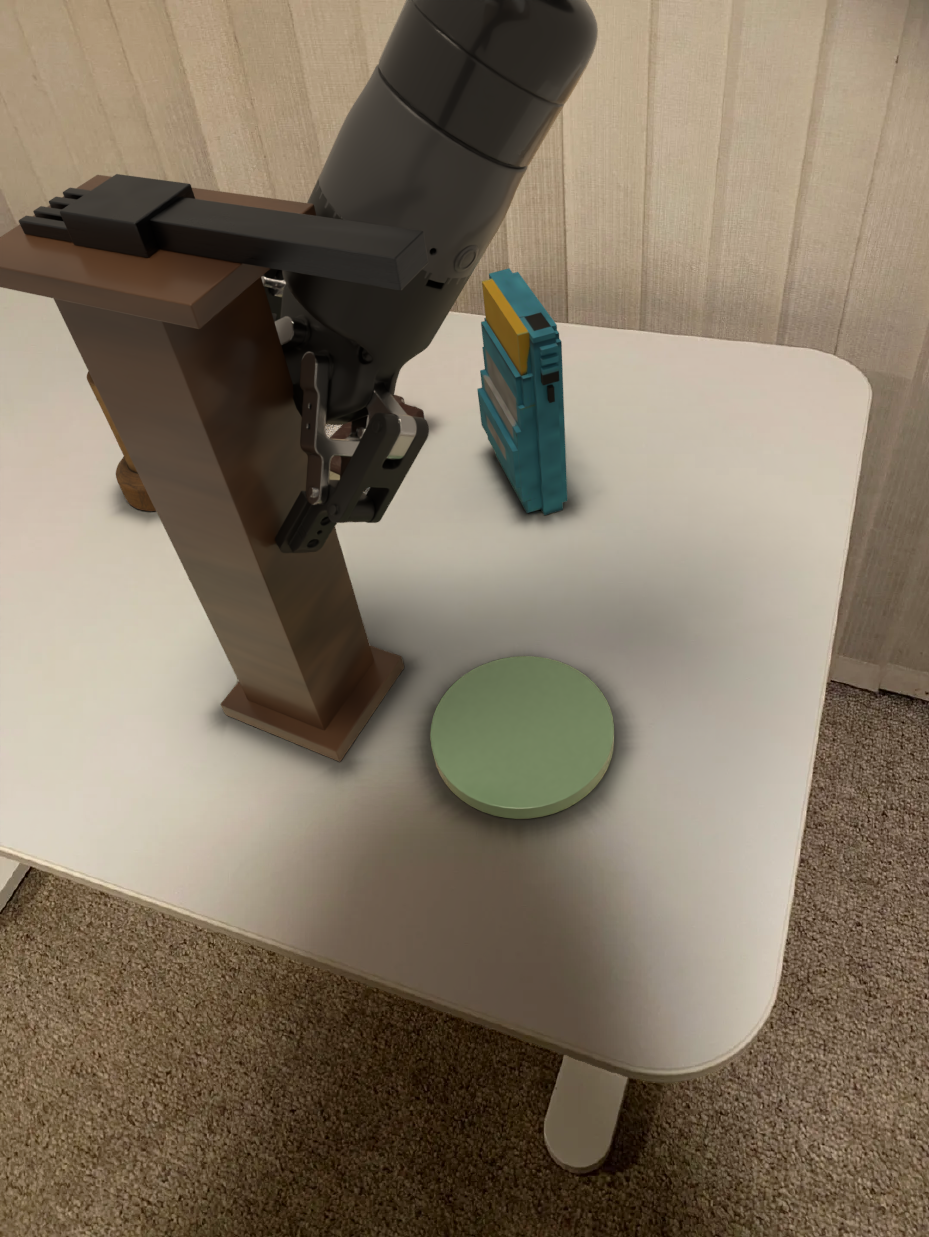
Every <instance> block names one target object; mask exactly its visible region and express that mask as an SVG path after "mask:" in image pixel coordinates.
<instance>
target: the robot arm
mask: <svg viewBox="0 0 929 1237" xmlns="http://www.w3.org/2000/svg"><path fill="white" fill-rule="evenodd" d="M598 28H599V27H598V22H597V19H596V16H595V13H594V11H593V9H592V8H591V6H590V4H589V3H588V1H587V0H405V2H404V4H403V6H402V8H401V11H400V13H399V15H398V17H397V20H396V22H395V24H394V26H393V28H392V31H391V32H390V35H389V37H388V38H387V42H386V43H385V46H384V48H383V50H382V52H381V55H380V57H379V59H378V64H376V65H375V67H374V68H373V69H374V70H373V71H372V73H371V75H370V77H369V79H368V81H367V82H366V84H365V85H364V87H363V89H362V90H361V92H360V93H359V94H358V97H357V98H356V100H355V101H354V103H353V104H352V106H351V108H350V110H349V111H348V113H347V114H346V117H345V118H344V121H343V123H342V125H341V127H340V129H339V131H338V133H337V135H336V138H335V140H334V143H333V145H332V147H331V149H330V151H329V154H328V155H327V158H326V160H325V163H324V164H323V167H322V168H321V172H320V173H319V176H318V178H317V180H316V182H315V185H314V187H313V189H312V192H311V193H310V196H309V198H308V199H307V202H306V203H310V204H314V207H315V211H316V216H320V217H327V218H334V219H341V220H349V221H356V222H363V223H370V224H377V225H384V226H391V227H398V228H405V229H412V230H419V231H423V232H424V237H425V244H426V251H427V258H428V264H427V265H426V266H425V267H424V268H423V269H422V270H421V271H420V272H419V273H418V274H417V275H416V276H415V277H414V278H413V279H412V280H411V281H410V282H409V283H408V284H407V285H406V286H405V287H404V288H403V289H402V290H394V289H388V288H382V287H376V286H370V285H365V284H359V283H353V282H347V281H341V280H336V279H330V278H324V277H318V276H312V275H306V274H301V273H295V272H289V271H283V270H277V269H270V270H268V271H267V272H266V273H265V274H264V275H263V276H261V278H262V282H263V285H264V288H265V292H266V295H267V299H268V302H269V305H270V309H271V312H272V315H273V319H274V322H275V326H276V329H277V332H278V336H279V339H280V343H281V346H282V349H283V353H284V356H285V359H286V363H287V366H288V370H289V373H290V376H291V380H292V383H293V393H294V395H293V400H294V403H295V406H296V409H297V410H298V412H299V414H300V415H301V417H302V422H301V437H300V446H301V449H302V450H303V451H304V452H305V453H306V454H307V456H308V465H307V479H306V491H301V492H300V494H299V496H298V498H297V499H296V501H295V503H294V505H293V507H292V508H291V510H290V512H289V514H288V516H287V517H286V519H285V521H284V523H283V524H282V526H281V528H280V530H279V532H278V533H277V535H276V537H275V542H276V543H277V545H278V547H279V549H280V551H281V552H282V553H308V552H317V551H318V550H320V549H321V548H322V547H323V545H324V544H325V542H326V540H327V539H328V537H329V534H331V532H332V530H333V529H334V527H335V528H336V525H337V524H344V523H366V524H377V523H380V522H381V520H382V519H383V517H384V515H385V514H386V511H387V510H388V508H389V507H390V505H391V503H392V501H393V499H394V498H395V496H396V494H397V492H398V491H399V489H400V487H401V485H402V484H403V482H404V480H405V479H406V476H407V475H408V474H409V471H410V469H411V468H412V466H413V465H414V462H415V460H416V459H417V457H418V455H419V454H420V452H421V450H422V448H423V446H424V445H425V443H426V442H427V440H428V437H429V434H430V427H429V423H428V421H427V420H426V419H424V418H425V417H424V418H422V417H413V416H409V415H407V414H406V413H405V411H404V410H403V409H402V407H401V406H400V405H399V404H398V402H397V401H396V400H395V399H394V397H393V396H394V395H395V392H396V388H397V387H396V386H397V381H398V378H399V374H400V373H401V370H402V368H403V367H404V366H405V365H406V364H407V363H408V362H409V361H411V360H412V359H414V358H415V357H416V356H418V355H420V354H421V353H422V352H424V351H425V350H426V349H428V347H429V346H430V345H431V344H432V342H433V340H434V339H435V337H436V335H437V334H438V332H439V330H440V328H441V327H442V325H443V323H444V322H445V320H446V318H447V316H448V315H449V313H450V311H451V310H452V308H453V307H454V305H455V303H456V301H457V300H458V298H459V296H461V295H460V294H462V291H463V290H464V288H465V286H466V285H467V283H468V282H469V279H471V275H472V274H473V273H474V271H475V270H476V267H477V266H478V265H479V263H480V260H481V259H482V257H483V256H484V254H485V252H486V251H487V249H488V247H489V246H490V244H491V243H492V241H493V240H494V237H495V236H496V234H497V232H498V230H499V229H500V227H501V225H502V223H503V222H504V220H505V218H506V216H507V214H508V211H509V210H510V207H511V205H512V203H513V200H514V198H515V195H516V192H517V190H518V188H519V186H520V184H521V182H522V180H523V177H524V175H525V174H526V172H527V170H528V167H529V166H530V164H531V162H532V161H533V159H534V158H535V156H536V154H537V153H538V150H539V149H540V148H541V145H543V142H544V140H545V138H546V137H547V136H548V134H549V132H550V130H551V128H552V127H553V125H554V123H555V122H556V120H557V118H558V117H559V115H560V113H561V111H562V110H563V108H564V106H565V104H566V103H567V102H568V100H569V99H570V97H571V95H572V94H573V92H574V90H575V89H576V87H577V86H578V83H579V81H580V80H581V78H582V76H583V75H584V73H585V71H586V69H587V67H588V65H589V63H590V61H591V58H592V56H593V54H594V52H595V49H596V46H597V42H598V35H599V29H598ZM349 422H352V423H351V432H350V435H349V436H348V437H347V438H346V439H332V438H330V436H328V434H327V431H326V425H330V426H331V425H332V426H342V425H343V424H346V423H349ZM336 455H338V456H340V457H341V469H340V480H329V479H330V465H331V459H332V457H334V456H336ZM367 489H368V490H367ZM365 490H367V491H366V493H364V491H365Z"/></svg>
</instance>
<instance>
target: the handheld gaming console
mask: <svg viewBox="0 0 929 1237" xmlns="http://www.w3.org/2000/svg"><path fill="white" fill-rule="evenodd" d="M481 288H482V296H483V298H482V299H483V305H484V316H485V317H484V320H483V321H481V322H480V326H481V335H482V345H483V346H482V356H483V365H484V366H483V367H484V368H483V369H480V370H479V372H480V373H479V374H480V375H479V376H480V383H481V387H479V388H477V390H476V392H477V397H478V407H479V414H480V424H481V427H482V429H483V430H484V432H485V435H486V436H487V440H488V442H489V444H490V446H491V448H492V449H493V451H494V454H495V455H494V456H495V458H496V459H497V461H498V463H499V465H500V467H501V468H502V470H503V472H504V474H505V476H506V478H507V480H508V481H509V484H510V485H511V487H512V489H513V491H514V493H515V494H516V497H517V498H518V500H519V502H520V504H521V506H522V507H523V509H524V512H525V513H526V514H530V513H533V512H536V511H539V510H540V511H541V513H542V514H543V516H547V515H550V514H554V513H557V512H560V511H563V510H564V503H567V502H568V479H567V478H568V477H567V476H568V475H567V453H566V450H567V449H566V429H565V428H566V426H565V400H564V398H565V397H564V375H563V374H564V373H563V372H564V371H563V344H562V343H563V342H562V340H561V339H560V332H559V331H558V324H557V323H556V322H555V320H554V319H553V317H552V316H551V315H550V313H549V312H548V311H547V309H546V308H545V307H544V305H543V304H542V303H541V301H540V300H539V299H538V297H537V296H536V294H535V293H534V292H533V290H532V289H531V287H530V286H529V285H528V283H527V281H525V280H524V278H523V276H522V275H521V273H519V271H516V272H512V270H511V268H510V267H509V268H508V267H507V268H505V269H501V270H498V271H493V272H490V273H488V278H487V279H485V280H481Z"/></svg>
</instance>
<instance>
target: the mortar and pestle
mask: <svg viewBox="0 0 929 1237" xmlns="http://www.w3.org/2000/svg"><path fill="white" fill-rule="evenodd" d="M86 381H87V383H88V385H89V386H90V388H91V391H92V393H93V395H94V396H95V398H96V401H97V402H98V405H99V408H100V410H101V411H102V413H103V415H104V417H105V419H106V421H107V423H108V425H109V427H110V429H111V432H112V434H113V436H114V439H115V440H116V442H117V445H118V447H119V450H120V451H121V454H122V455H123V456H122V458H121V460H120V461H119V462H118V464H117V467H116V469H115V478H116V481H117V483H118V486H119V488H120V490H121V492H122V494H123V496H124V499H125V500H126V501H127V503H128V504H129V506H131V507H133V508H135V509H138V510H141V511H145V512H157V511H156V509H155V507H154V505H153V503H152V501H151V499H150V497H149V495H148V493H147V491H146V489H145V487H144V485H143V483H142V481H141V478H140V476H139V474H138V472H137V470H136V468H135V466H134V464H133V462H132V460H131V458H130V456H129V454H128V452H127V450H126V447H125V445H124V443H123V441H122V439H121V437H120V435H119V433H118V431H117V429H116V427H115V425H114V423H113V421H112V419H111V416H110V414H109V412H108V410H107V408H106V406H105V404H104V402H103V400H102V398H101V396H100V394H99V392H98V390H97V388H96V385H95V383H94V381H93V379H92V377H91V375H90V373H89V371H88V370H87V374H86Z"/></svg>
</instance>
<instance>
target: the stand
mask: <svg viewBox="0 0 929 1237" xmlns="http://www.w3.org/2000/svg"><path fill="white" fill-rule="evenodd" d="M111 177H112V176H111V175H110V176H109V175H102V174H96V175H95V176H93V177H91V178H90V179H88V180H86V181H85V182H84V183H81V184H80V185H79V186H78V187H76V188H77V189H84V190H93V189H94V188H96V187H97V186H99V185H100V184H102V183H103V182H105V181H106V180H108V179H110V178H111ZM192 190H193V193H194V196H195V199H200V200H207V201H214V202H221V203H228V204H235V205H242V206H250V207H257V208H264V209H271V210H278V211H285V212H292V213H299V214H306V215H313V216H316V211H315V207H314V204H310V203H307V202H302V201H295V200H287V199H280V198H272V197H264V196H257V195H250V194H242V193H235V192H228V191H222V190H213V189H207V188H198V187H192ZM62 197H63V198H65V197H64V195H63V196H62ZM47 207H50V208H51V206H50V204H48V206H47ZM32 216H33V217H35V214H34V215H32ZM270 269H271V268H266V267H260V266H254V265H248V264H242V263H237V262H231V261H225V260H219V259H213V258H207V257H202V256H196V255H190V254H184V253H178V252H172V251H167V250H161V249H159V250H158V251H157V252H155V253H154V254H153V255H151V256H150V257H149V258H145V257H140V256H134V255H129V254H123V253H117V252H112V251H106V250H100V249H95V248H89V247H83V246H78V245H74V244H73V242H68V241H62V240H57V239H51V238H45V237H40V236H34V235H28V234H25V233H24V232H23V230H22V228H21V226H20V224H18V225H16V226H15V227H14V228H12V229H11V230H9V231H7V232H5V233H4V234H3V235H1V236H0V288H3V289H7V290H11V291H16V292H21V293H25V294H31V295H35V296H40V297H44V298H45V297H46V298H50V299H53V301H54V303H55V305H56V307H57V309H58V312H59V313H60V315H61V318H62V319H63V321H64V324H65V325H66V328H67V330H68V332H69V334H70V337H71V338H72V340H73V343H74V344H75V347H76V348H77V350H78V353H79V354H80V356H81V359H82V360H83V363H84V365H85V367H86V369H87V372H88V371H89V373H90V375H91V377H92V379H93V381H94V383H95V385H96V388H97V390H98V392H99V394H100V396H101V398H102V400H103V402H104V404H105V406H106V408H107V410H108V412H109V414H110V416H111V419H112V421H113V423H114V425H115V427H116V429H117V431H118V433H119V435H120V437H121V439H122V441H123V443H124V445H125V447H126V450H127V452H128V454H129V456H130V458H131V460H132V462H133V464H134V466H135V468H136V470H137V472H138V474H139V476H140V478H141V481H142V483H143V485H144V487H145V489H146V491H147V493H148V495H149V497H150V499H151V501H152V503H153V505H154V507H155V509H156V511H155V512H156V514H157V516H158V518H159V520H160V522H161V524H162V526H163V528H164V530H165V532H166V534H167V536H168V538H169V540H170V542H171V545H172V546H173V549H174V550H175V553H176V555H177V557H178V559H179V561H180V563H181V565H182V567H183V570H184V572H185V574H186V575H187V578H188V580H189V582H190V584H191V586H192V588H193V590H194V592H195V594H196V596H197V598H198V600H199V603H200V604H201V607H202V609H203V611H204V613H205V615H206V617H207V620H208V621H209V623H210V625H211V627H212V629H213V632H214V633H215V636H216V637H217V640H218V641H219V644H220V646H221V648H222V650H223V652H224V654H225V656H226V659H227V661H228V662H229V665H230V666H231V669H232V670H233V671H232V672H234V675H235V677H236V679H237V681H238V682H236V684H235V685H234V686H233V688H232V689H231V690H230V692H228V693H227V695H226V697H225V698H224V699H223V700H222V701H221V703H220V707H221V709H222V711H223V713H224V715H225V716H228V717H230V718H232V719H234V720H237V721H240V722H242V723H245V724H247V725H249V726H252V727H254V728H257V729H259V730H261V731H264V732H266V733H269V734H271V735H274V736H276V737H279V738H281V739H283V740H286V741H288V742H291V743H293V744H296V745H298V746H301V747H303V748H305V749H308V750H310V751H312V752H314V753H318V754H320V755H323V756H325V757H327V758H330V759H331V760H335V761H337V762H342V760H343V759H344V757H345V756H346V754H347V752H348V751H349V750H350V749H351V747H352V745H353V744H354V743H355V741H356V739H357V738H358V737H359V735H360V734H361V732H362V730H363V729H364V727H365V726H366V725H367V723H368V722H369V721H370V719H371V718H372V716H373V714H374V713H375V712H376V710H377V708H378V707H379V706H380V704H381V703H382V701H383V700H384V698H385V697H386V695H387V694H388V692H389V691H390V689H391V688H392V687H393V685H394V684H395V682H396V681H397V679H398V678H399V676H401V673H402V672H403V671H404V669H405V663H404V660H403V656H402V655H400V654H396V653H393V652H390V651H387V650H384V649H382V648H379V647H376V646H373V645H371V644H370V641H369V637H368V634H367V631H366V627H365V624H364V621H363V620H364V619H363V617H362V614H361V610H360V607H359V604H358V601H357V597H356V594H355V590H354V587H353V584H352V580H351V576H350V573H349V570H348V566H347V563H346V560H345V556H344V553H343V550H342V546H341V542H340V539H339V535H338V533H337V529H336V526H335V527H334V529H333V530H332V532H331V534H329V537H328V539H327V540H326V542H325V544H324V545H323V547H322V548H321V549H320V550H318V551H317V552H308V553H282V552H281V551H280V549H279V547H278V545H277V543H276V542H275V537H276V535H277V533H278V532H279V530H280V528H281V526H282V524H283V523H284V521H285V519H286V517H287V516H288V514H289V512H290V510H291V508H292V507H293V505H294V503H295V501H296V499H297V498H298V496H299V494H300V492H301V491H306V479H307V465H308V456H307V454H306V453H305V452H304V451H303V450H302V449H301V446H300V437H301V422H302V417H301V415H300V414H299V412H298V410H297V409H296V406H295V403H294V400H293V395H294V393H293V383H292V380H291V376H290V373H289V370H288V366H287V363H286V359H285V356H284V353H283V349H282V346H281V343H280V339H279V336H278V332H277V329H276V326H275V322H274V319H273V315H272V312H271V309H270V305H269V302H268V299H267V295H266V292H265V288H264V285H263V282H262V278H261V276H263V275H264V274H265V273H266V272H267V271H268V270H270Z"/></svg>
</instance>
